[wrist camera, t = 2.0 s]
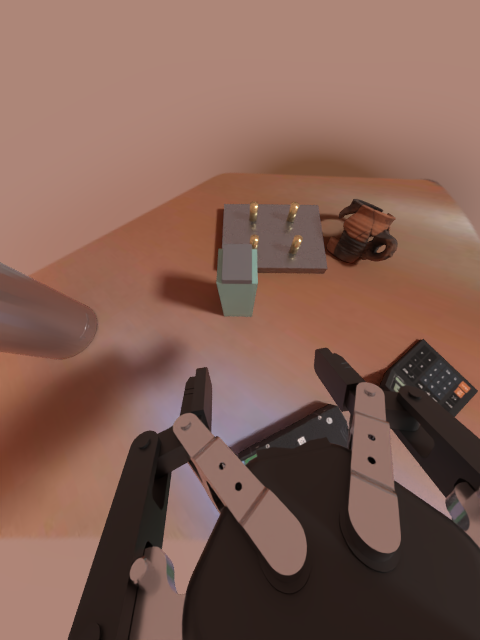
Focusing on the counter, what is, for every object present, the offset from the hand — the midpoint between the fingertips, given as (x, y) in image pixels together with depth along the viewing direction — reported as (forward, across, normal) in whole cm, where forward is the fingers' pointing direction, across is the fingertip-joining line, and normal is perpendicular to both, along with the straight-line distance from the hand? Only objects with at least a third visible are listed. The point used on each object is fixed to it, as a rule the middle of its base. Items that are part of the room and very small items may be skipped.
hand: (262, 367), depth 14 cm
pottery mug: (+25, -23, -3) cm, 34 cm away
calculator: (+7, -24, +15) cm, 29 cm away
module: (+19, 0, +2) cm, 19 cm away
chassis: (+27, -8, -6) cm, 29 cm away
